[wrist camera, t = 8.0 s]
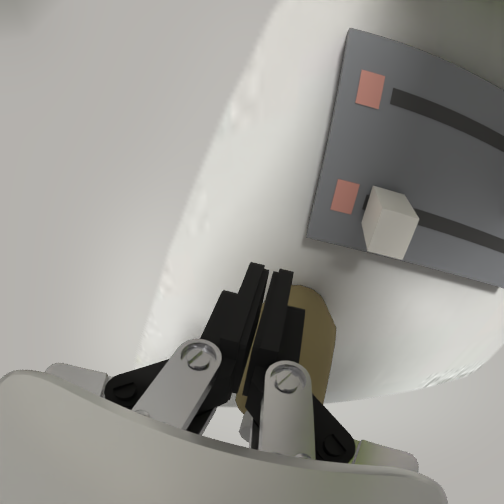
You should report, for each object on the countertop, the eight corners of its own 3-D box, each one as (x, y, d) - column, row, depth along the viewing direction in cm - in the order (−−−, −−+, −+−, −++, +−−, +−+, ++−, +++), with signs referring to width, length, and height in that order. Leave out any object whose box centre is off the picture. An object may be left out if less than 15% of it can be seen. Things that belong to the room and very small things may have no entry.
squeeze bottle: (241, 297, 31) (176, 463, 16) (305, 259, 27) (268, 462, 12) (289, 343, 33) (255, 497, 18) (352, 315, 29) (345, 493, 14)
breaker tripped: (372, 185, 20) (382, 208, 16) (404, 194, 19) (419, 218, 16) (361, 222, 21) (367, 251, 18) (391, 230, 21) (402, 260, 18)
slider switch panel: (347, 32, 16) (349, 27, 14) (561, 136, 14) (574, 142, 12) (307, 225, 25) (306, 238, 23) (504, 278, 22) (512, 291, 21)
